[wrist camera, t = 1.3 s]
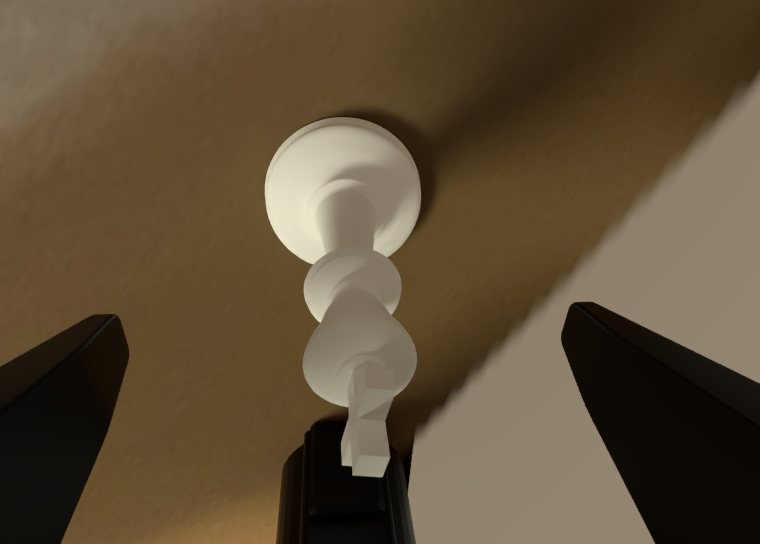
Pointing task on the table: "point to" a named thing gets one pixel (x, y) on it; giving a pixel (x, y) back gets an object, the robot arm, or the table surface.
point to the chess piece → (350, 268)
